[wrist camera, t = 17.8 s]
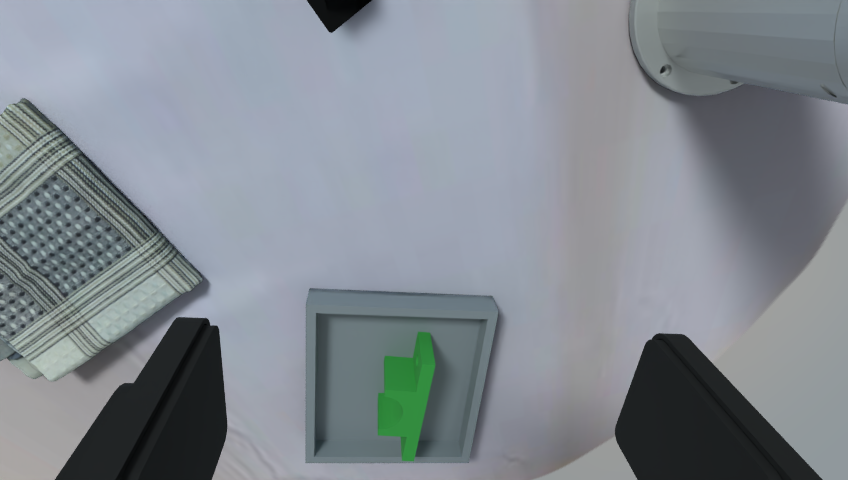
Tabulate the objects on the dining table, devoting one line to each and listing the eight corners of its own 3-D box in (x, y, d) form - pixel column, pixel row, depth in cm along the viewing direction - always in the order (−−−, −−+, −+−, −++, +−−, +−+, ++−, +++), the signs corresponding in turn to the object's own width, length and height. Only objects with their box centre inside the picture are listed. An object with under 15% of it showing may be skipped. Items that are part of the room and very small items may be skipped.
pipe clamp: (388, 328, 44) (390, 361, 40) (430, 331, 44) (435, 364, 40) (373, 422, 48) (373, 460, 44) (410, 424, 49) (414, 462, 45)
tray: (492, 296, 44) (498, 311, 41) (464, 442, 51) (468, 462, 49) (309, 288, 42) (305, 304, 39) (308, 442, 49) (305, 463, 47)
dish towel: (29, 87, 34) (-3, 95, 31) (210, 275, 41) (198, 295, 38) (-152, 224, 36) (-197, 243, 34) (48, 376, 44) (25, 403, 41)
